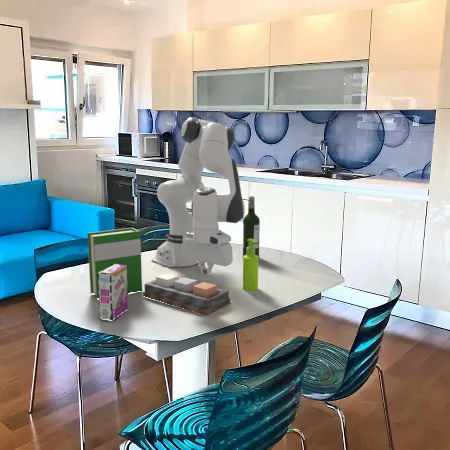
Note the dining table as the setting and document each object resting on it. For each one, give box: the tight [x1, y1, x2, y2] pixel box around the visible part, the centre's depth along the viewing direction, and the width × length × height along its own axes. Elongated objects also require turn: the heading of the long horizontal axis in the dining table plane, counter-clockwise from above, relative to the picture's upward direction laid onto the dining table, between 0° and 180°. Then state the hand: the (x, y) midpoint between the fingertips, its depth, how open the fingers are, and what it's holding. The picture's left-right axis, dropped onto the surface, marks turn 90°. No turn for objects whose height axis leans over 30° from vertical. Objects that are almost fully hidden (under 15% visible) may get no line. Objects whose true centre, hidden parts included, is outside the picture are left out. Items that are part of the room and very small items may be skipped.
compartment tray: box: [142, 279, 231, 316], centre depth 178 cm, size 30×14×5 cm, turn 54°
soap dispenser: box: [242, 239, 259, 292], centre depth 189 cm, size 6×7×20 cm
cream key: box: [155, 272, 180, 288], centre depth 182 cm, size 6×6×4 cm
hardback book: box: [86, 227, 143, 298], centre depth 183 cm, size 18×7×24 cm, turn 123°
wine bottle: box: [242, 195, 261, 260], centre depth 232 cm, size 8×8×30 cm
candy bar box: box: [98, 264, 129, 320], centre depth 162 cm, size 11×5×16 cm, turn 163°
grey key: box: [174, 277, 198, 293], centre depth 177 cm, size 6×6×4 cm
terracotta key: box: [193, 281, 218, 298], centre depth 172 cm, size 6×6×4 cm
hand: (206, 274), depth 170 cm, fingers closed
